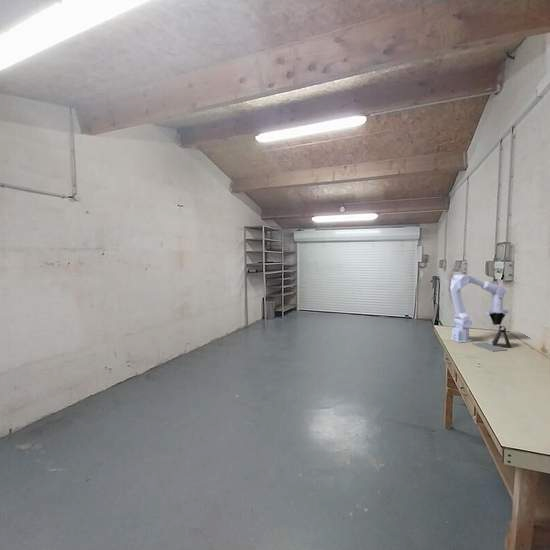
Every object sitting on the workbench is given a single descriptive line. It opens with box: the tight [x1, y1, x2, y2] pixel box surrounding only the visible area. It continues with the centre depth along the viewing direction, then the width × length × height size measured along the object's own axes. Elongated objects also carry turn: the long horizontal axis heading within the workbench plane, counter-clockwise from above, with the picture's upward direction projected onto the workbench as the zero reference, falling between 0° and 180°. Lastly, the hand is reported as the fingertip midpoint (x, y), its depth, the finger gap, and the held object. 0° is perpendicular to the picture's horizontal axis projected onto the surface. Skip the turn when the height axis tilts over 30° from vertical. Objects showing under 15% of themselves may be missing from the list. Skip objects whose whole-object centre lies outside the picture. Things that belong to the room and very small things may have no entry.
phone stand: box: [491, 325, 512, 349], centre depth 179 cm, size 9×6×12 cm, turn 57°
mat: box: [472, 342, 509, 353], centre depth 177 cm, size 10×15×1 cm, turn 9°
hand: (496, 324), depth 191 cm, fingers open, 2 cm apart
